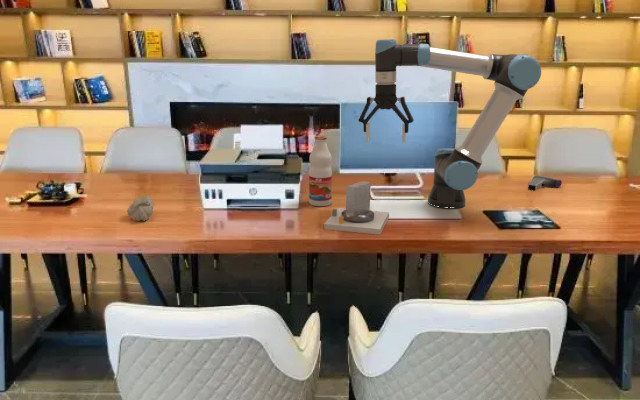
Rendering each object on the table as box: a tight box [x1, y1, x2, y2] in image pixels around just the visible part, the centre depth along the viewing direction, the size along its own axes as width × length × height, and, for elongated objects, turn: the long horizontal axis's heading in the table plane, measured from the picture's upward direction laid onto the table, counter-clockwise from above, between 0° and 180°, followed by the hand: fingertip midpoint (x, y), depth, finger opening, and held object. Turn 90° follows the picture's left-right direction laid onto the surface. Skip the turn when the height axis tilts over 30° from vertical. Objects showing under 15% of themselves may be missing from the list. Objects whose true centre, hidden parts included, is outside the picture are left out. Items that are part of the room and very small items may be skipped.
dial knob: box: [342, 180, 374, 222], centre depth 196 cm, size 12×12×12 cm
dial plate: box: [323, 207, 390, 235], centre depth 198 cm, size 20×20×4 cm
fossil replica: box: [126, 194, 155, 222], centre depth 201 cm, size 12×8×10 cm
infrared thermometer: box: [527, 174, 563, 192], centre depth 247 cm, size 5×12×15 cm
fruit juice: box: [308, 134, 333, 207], centre depth 218 cm, size 9×9×28 cm
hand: (385, 141), depth 202 cm, fingers open, 13 cm apart
